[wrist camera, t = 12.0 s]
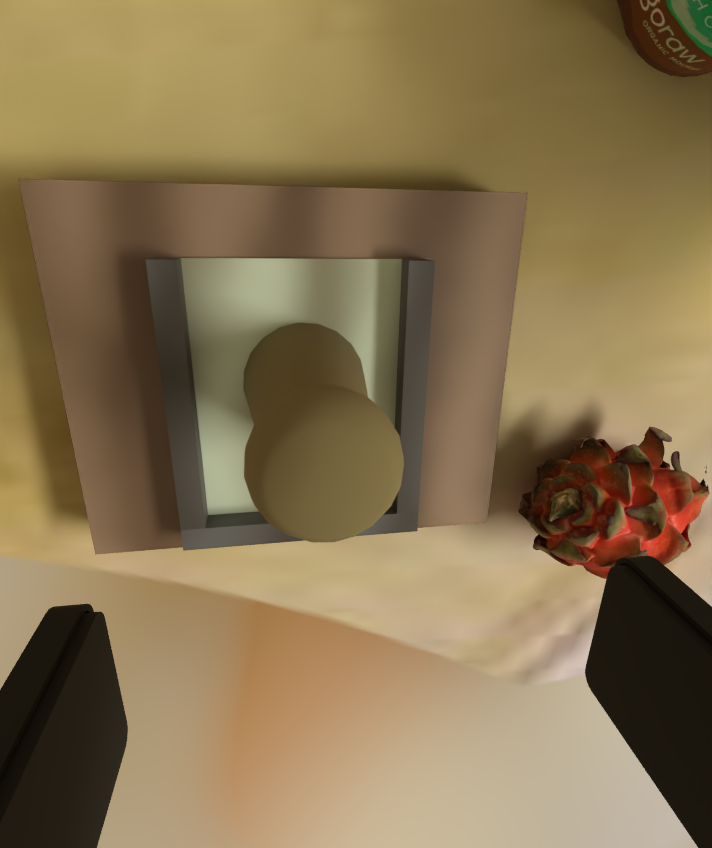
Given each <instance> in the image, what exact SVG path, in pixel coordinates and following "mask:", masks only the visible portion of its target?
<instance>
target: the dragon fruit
mask: <svg viewBox="0 0 712 848" xmlns="http://www.w3.org/2000/svg"><path fill="white" fill-rule="evenodd" d="M662 441H666V442H671V441H672V438H671V437H670V436H669V435H668V434H666V433H665V432H663V431H662V430H660V429H657V428H654V427H649V429H648V430H647V432H646V434H645V438H644V441H643V442H642V443H641V444H640V445H639V446H637V445H635V444H634V445H630V446H627V447H625V448H623V449H622V450H620V451H617V452H616V453H614V451H613V449H612V448H611V447H610V446H609V445H608V444H607V442H606V441H605V440H603V439H598V440H596V439H594V438H592V437H581V438H578V439H576V440H574V442H575V444H576V447H575V449H574V451H573V453H572V455H571V457H570V459H569V460H564V459H552V460H551V459H550V460H547V461H545V462H543V463H542V464H541V465H539V466H538V467H537V473H538V480H537V484H536V485H535V486H534V488H533V491H531V492H529V493H526V494H524V495H523V499H522V501H521V503H520V508H519V513H520V514H521V515H523V516H524V517H525V518H526V519H527V520H528V522H529V524H530V526H531V527H532V528H533V529H534V530H535V531H536V532H537V533H538V534H539V535H537V536H536V537H535V539H534V545H533V548H534V549H535V550H542V551H543V552H545V553H547V554H549V555H550V556H551V557H553V558H554V559H555V560H557V561H559V562H560V563H562V564H565V565H567V566H574V565H583V566H584V568H585V569H586V570H587V571H589V572H590V573H592V574H594V575H596V576H599V577H601V578H605V579H607V576H608V572H609V570H610V568H611V567H613V566H615V563H616V561H617V560H618V559H620V558H625V557H636V556H652V557H654V558H656V559H657V560H658V561H660V562H661V563H662V564H663V565H665V564H667V563H669V562H671V561H672V560H674V559H675V558H677V557H678V556H679V555H680V554H681V553H682V552H685V551H687V550H688V549H689V548H690V547H691V543H690V541H689V538H688V530H689V528H690V523H691V522H693V521H694V520H695V519H696V518H697V517H698V516H699V514H700V512H701V507H702V504H703V502H704V500H705V499H706V498H707V497H708V495H709V490H708V486H707V487H706V485H705V481H704V479H703V480H702V482H701V483H699V482H698V481H697V480H696V479H694V478H693V477H692V476H691V475H689V474H688V473H686V472H684V471H682V469H681V466H680V461H679V455H680V454H679V451H678V452H677V451H675V452H674V453H673V454H672V456H671V463H672V466H673V468H674V470H670V465H669V464H668V463H666V462H664V461H663V456H664V446H663V442H662ZM706 470H707V466H706ZM705 473H707V472H706V471H705Z"/></svg>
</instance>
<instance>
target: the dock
mask: <svg viewBox="0 0 712 848" xmlns="http://www.w3.org/2000/svg"><path fill="white" fill-rule="evenodd" d="M18 181H19V186H20V190H21V195H22V200H23V205H24V210H25V215H26V220H27V224H28V229H29V234H30V239H31V244H32V249H33V254H34V258H35V263H36V268H37V273H38V278H39V283H40V288H41V292H42V297H43V302H44V307H45V312H46V317H47V322H48V327H49V331H50V336H51V341H52V346H53V351H54V356H55V361H56V365H57V370H58V375H59V380H60V385H61V390H62V395H63V399H64V404H65V409H66V414H67V419H68V424H69V429H70V433H71V438H72V443H73V448H74V453H75V458H76V463H77V467H78V472H79V477H80V482H81V487H82V492H83V497H84V501H85V506H86V511H87V516H88V521H89V526H90V531H91V535H92V540H93V545H94V550H95V554H106V553H118V552H130V551H143V550H155V549H167V548H179V547H183V550H195V549H207V548H219V547H231V546H243V545H255V544H267V543H279V542H291V541H303V539H299V538H296V537H292V536H289V535H287V534H285V533H284V532H282V531H280V530H279V529H277V528H276V527H274V526H273V525H271V524H269V523H268V522H267V520H266V519H265V518H264V517H263V515H262V514H261V513H260V512H259V510H258V509H257V508H256V507H255V505H254V503H253V501H252V499H251V496H250V493H249V490H248V488H247V485H246V482H245V479H244V456H245V447H246V444H247V441H248V439H249V436H250V434H251V431H252V429H253V426H254V422H253V419H252V416H251V413H250V409H249V406H248V403H247V400H246V396H245V393H244V390H243V383H244V369H245V366H246V364H247V361H248V358H249V356H250V353H251V352H252V351H253V349H254V348H255V347H256V346H257V344H258V343H259V342H260V341H261V340H262V338H263V337H265V336H267V335H268V334H270V333H272V332H273V331H275V330H276V329H278V328H280V327H283V326H287V325H291V324H295V323H311V324H320V325H322V326H325V327H327V328H330V329H332V330H335V331H337V332H338V333H339V334H340V335H342V336H343V337H344V338H345V339H346V340H347V341H349V342H350V343H351V344H352V346H353V347H354V349H355V351H356V353H357V354H358V356H359V358H360V359H361V363H362V368H363V372H364V377H365V382H366V388H367V393H368V398H369V399H371V400H372V401H373V402H374V403H375V404H377V405H378V406H379V407H380V408H381V409H383V410H384V412H385V413H386V415H387V416H388V418H389V419H390V421H391V423H392V424H393V426H394V428H395V429H396V431H397V433H398V434H399V436H400V441H401V446H402V452H403V457H404V468H403V475H402V482H401V487H400V489H399V491H398V493H397V495H396V497H395V499H394V501H393V503H392V505H391V507H390V508H389V509H388V510H387V511H386V512H385V513H384V514H383V515H382V516H381V517H380V519H379V520H378V521H377V522H376V523H375V524H374V525H373V526H371V527H370V528H368V529H366V530H364V531H363V532H361V533H359V534H358V535H356V536H363V535H375V534H387V533H399V532H411V531H417V528H423V527H435V526H447V525H459V524H471V523H483V522H487V518H488V509H489V501H490V493H491V485H492V477H493V469H494V461H495V453H496V444H497V436H498V428H499V420H500V412H501V404H502V396H503V388H504V379H505V371H506V363H507V355H508V347H509V339H510V331H511V322H512V314H513V306H514V298H515V290H516V282H517V274H518V266H519V257H520V249H521V241H522V233H523V225H524V217H525V209H526V200H527V193H518V192H482V191H445V190H409V189H373V188H336V187H300V186H264V185H227V184H191V183H155V182H119V181H82V180H46V179H18Z"/></svg>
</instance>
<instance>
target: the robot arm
mask: <svg viewBox="0 0 712 848" xmlns="http://www.w3.org/2000/svg"><path fill="white" fill-rule="evenodd" d="M585 674H586V679H587V683H588V685H589V687H590V689H591V691H592V692H593V694H594V695H595V697H596V698H597V700H598V701H599V703H600V704H601V706H602V707H603V708H604V710H605V711H606V713H607V714H608V716H609V717H610V719H611V720H612V722H613V723H614V725H615V726H616V728H617V729H618V730H619V732H620V733H621V735H622V736H623V738H624V739H625V741H626V742H627V744H628V745H629V747H630V748H631V749H632V751H633V753H634V754H635V755H636V757H637V758H638V760H639V761H640V763H641V764H642V766H643V767H644V768H645V770H646V772H647V773H648V775H649V776H650V777H651V779H652V780H653V782H654V783H655V785H656V786H657V788H658V789H659V791H660V792H661V794H662V795H663V797H664V798H665V799H666V801H667V802H668V804H669V805H670V807H671V808H672V810H673V811H674V813H675V814H676V815H677V817H678V819H679V820H680V821H681V823H682V824H683V826H684V827H685V829H686V830H687V832H688V833H689V835H690V836H691V838H692V839H693V841H694V842H695V844H696V845H697V846H698V848H712V607H711V606H710V605H709V604H708V603H707V602H705V601H704V600H703V599H702V598H701V597H700V596H699V595H697V594H696V593H695V592H694V591H693V590H692V589H691V588H689V587H688V586H687V585H686V584H685V583H684V582H682V581H681V580H680V579H679V578H678V577H677V576H676V575H674V574H673V573H672V572H671V571H670V570H669V569H668V568H666V567H665V566H664V565H663V564H662V563H661V562H660V561H658V560H657V559H656V558H654V557H652V556H636V557H625V558H620V559H618V560H617V561H616V563H615V566H613V567H611V568H610V570H609V572H608V576H607V580H606V584H605V588H604V593H603V597H602V601H601V605H600V609H599V614H598V618H597V622H596V626H595V630H594V635H593V639H592V643H591V647H590V651H589V656H588V660H587V664H586V669H585ZM127 731H128V727H127V720H126V715H125V711H124V706H123V702H122V697H121V692H120V687H119V682H118V678H117V673H116V668H115V664H114V659H113V654H112V650H111V645H110V640H109V635H108V630H107V626H106V621H105V617H104V614H103V613H102V612H94V611H93V608H92V606H91V605H90V604H80V605H68V606H57V607H52V608H50V609H49V610H48V611H47V613H46V614H45V616H44V617H43V619H42V621H41V622H40V624H39V626H38V627H37V629H36V631H35V632H34V634H33V636H32V638H31V639H30V641H29V643H28V644H27V646H26V648H25V649H24V651H23V653H22V654H21V656H20V658H19V660H18V661H17V663H16V665H15V666H14V668H13V669H12V671H11V673H10V674H9V676H8V678H7V680H6V681H5V683H4V685H3V686H2V688H1V690H0V848H97V845H98V841H99V838H100V834H101V831H102V827H103V824H104V821H105V817H106V814H107V810H108V807H109V803H110V800H111V796H112V793H113V789H114V786H115V782H116V779H117V775H118V772H119V768H120V765H121V762H122V758H123V755H124V751H125V747H126V742H127Z"/></svg>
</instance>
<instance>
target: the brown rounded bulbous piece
mask: <svg viewBox="0 0 712 848" xmlns="http://www.w3.org/2000/svg"><path fill="white" fill-rule="evenodd" d="M243 390H244V393H245V396H246V400H247V403H248V406H249V409H250V413H251V416H252V419H253V422H254V426H253V429H252V431H251V434H250V436H249V439H248V441H247V444H246V447H245V456H244V479H245V482H246V485H247V488H248V490H249V493H250V496H251V499H252V501H253V503H254V505H255V507H256V508H257V509H258V510H259V512H260V513H261V514H262V515H263V517H264V518H265V519H266V520H267V522H268V523H269V524H271V525H273V526H274V527H276V528H277V529H279V530H280V531H282V532H284V533H285V534H287V535H289V536H292V537H296V538H299V539H303V540H306V541H310V542H336V541H340V540H343V539H347V538H350V537H354V536H356V535H358V534H359V533H361V532H363V531H364V530H366V529H368V528H370V527H371V526H373V525H374V524H375V523H376V522H377V521H378V520H379V519H380V517H381V516H382V515H383V514H384V513H385V512H386V511H387V510H388V509H389V508H390V507H391V505H392V503H393V501H394V499H395V497H396V495H397V493H398V491H399V489H400V487H401V482H402V475H403V468H404V457H403V452H402V446H401V441H400V436H399V434H398V433H397V431H396V429H395V428H394V426H393V424H392V423H391V421H390V419H389V418H388V416H387V415H386V413H385V412H384V410H383V409H381V408H380V407H379V406H378V405H377V404H375V403H374V402H373V401H372V400H371V399H369V398H368V393H367V388H366V382H365V377H364V372H363V368H362V363H361V359H360V358H359V356H358V354H357V353H356V351H355V349H354V347H353V346H352V344H351V343H350V342H349V341H347V340H346V339H345V338H344V337H343V336H342V335H340V334H339V333H338V332H337V331H335V330H332V329H330V328H327V327H325V326H322V325H320V324H311V323H295V324H291V325H287V326H283V327H280V328H278V329H276V330H275V331H273V332H272V333H270V334H268V335H267V336H265V337H263V338H262V340H261V341H260V342H259V343H258V344H257V346H256V347H255V348H254V349H253V351H252V352H251V353H250V356H249V358H248V361H247V364H246V366H245V369H244V383H243Z"/></svg>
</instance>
